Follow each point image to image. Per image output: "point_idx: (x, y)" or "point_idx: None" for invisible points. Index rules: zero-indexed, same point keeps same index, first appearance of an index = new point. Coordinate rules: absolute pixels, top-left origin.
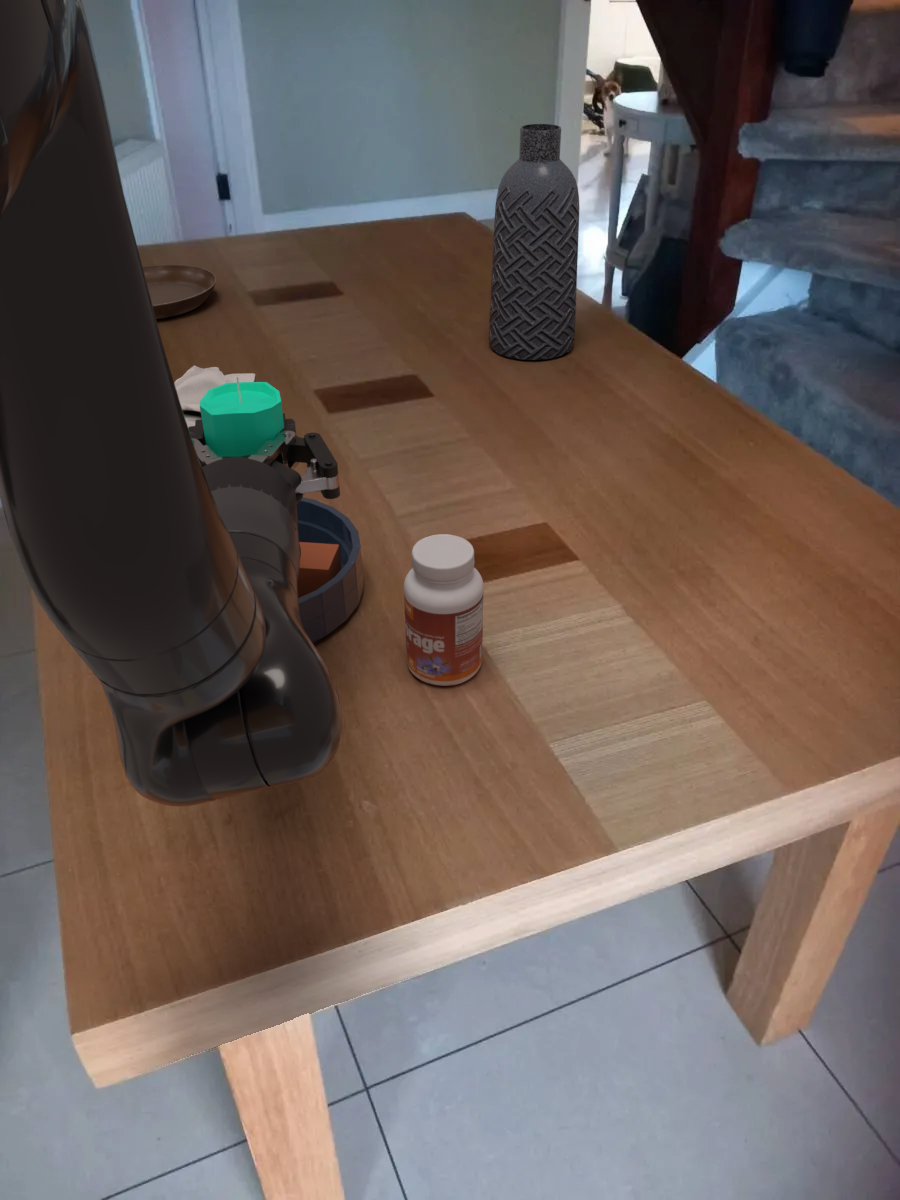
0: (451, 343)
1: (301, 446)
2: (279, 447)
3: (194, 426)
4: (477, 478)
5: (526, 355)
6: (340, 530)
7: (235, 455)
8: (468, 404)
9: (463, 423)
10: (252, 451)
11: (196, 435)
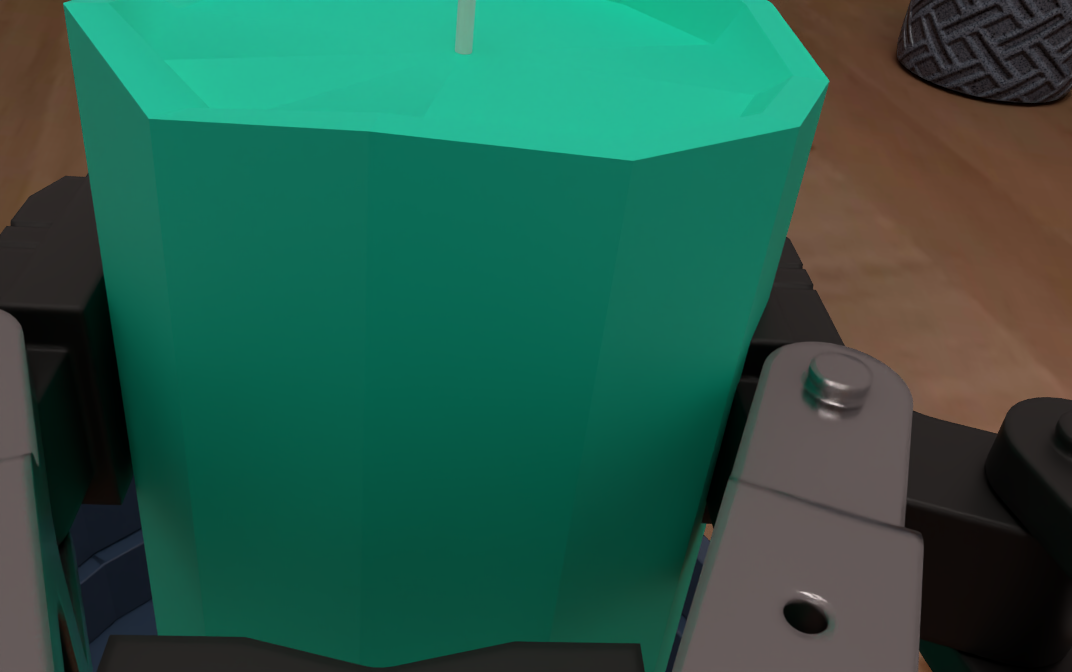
0: (816, 46)
1: (973, 529)
2: (912, 648)
3: None
4: (996, 390)
5: (990, 89)
6: (692, 599)
7: (347, 536)
8: (896, 177)
9: (901, 222)
10: (513, 518)
11: (44, 273)
